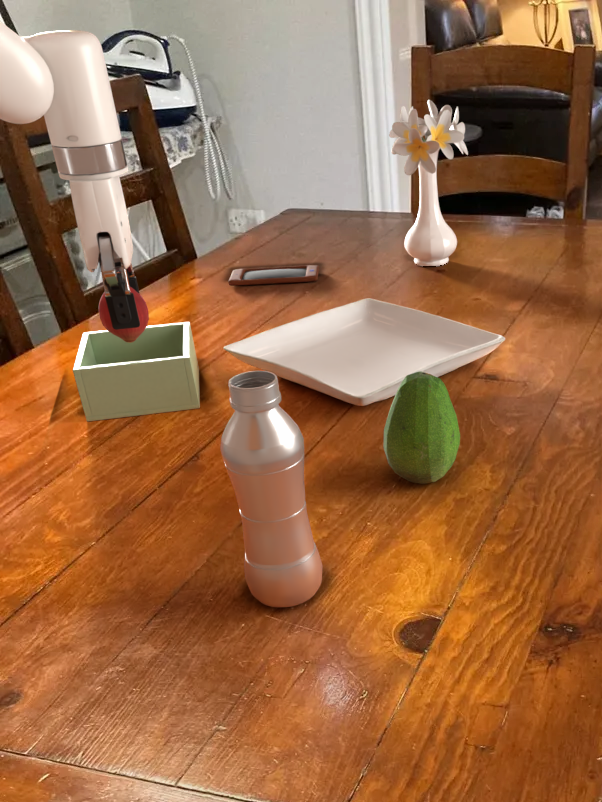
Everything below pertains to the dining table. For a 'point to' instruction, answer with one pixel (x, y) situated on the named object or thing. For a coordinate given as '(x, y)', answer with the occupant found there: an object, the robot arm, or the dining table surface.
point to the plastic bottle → (270, 492)
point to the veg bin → (137, 372)
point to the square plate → (364, 349)
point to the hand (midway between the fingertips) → (128, 317)
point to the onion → (130, 333)
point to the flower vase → (428, 178)
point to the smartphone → (274, 275)
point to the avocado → (421, 429)
